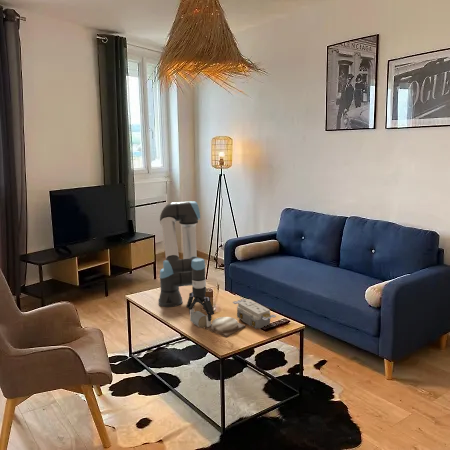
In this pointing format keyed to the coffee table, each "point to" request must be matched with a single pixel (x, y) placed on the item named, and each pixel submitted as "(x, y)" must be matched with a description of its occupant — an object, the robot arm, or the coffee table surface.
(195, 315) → the ceramic mug
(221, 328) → the pedestal
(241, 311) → the electrical outlet
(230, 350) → the coffee table surface
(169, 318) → the coffee table surface
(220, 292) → the coffee table surface
